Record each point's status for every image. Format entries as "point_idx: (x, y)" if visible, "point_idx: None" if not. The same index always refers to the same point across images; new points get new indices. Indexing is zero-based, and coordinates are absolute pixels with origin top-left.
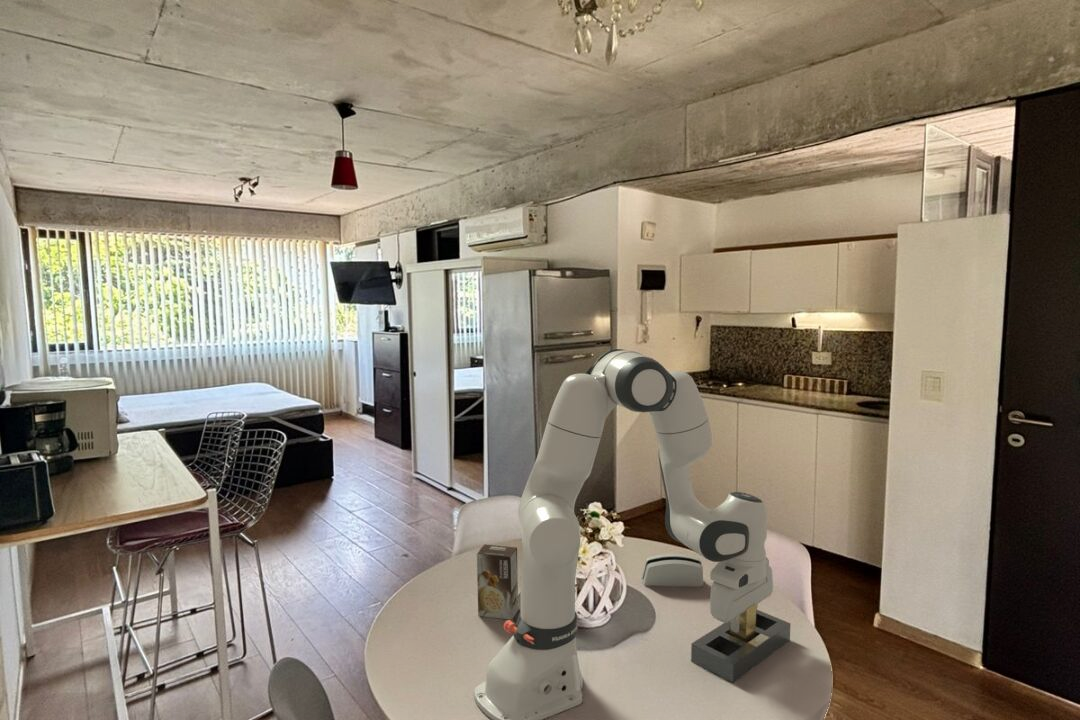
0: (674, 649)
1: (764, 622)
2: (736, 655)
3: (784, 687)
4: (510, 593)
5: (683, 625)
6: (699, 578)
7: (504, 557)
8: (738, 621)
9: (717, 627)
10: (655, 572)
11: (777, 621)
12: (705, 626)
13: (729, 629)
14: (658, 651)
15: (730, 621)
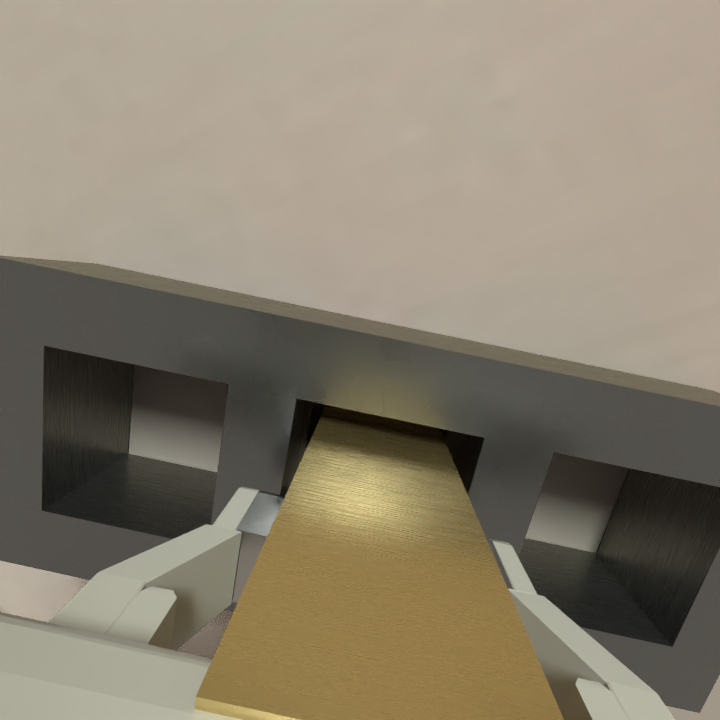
0: (129, 125)
1: (673, 534)
2: (88, 546)
3: (214, 654)
4: None
5: (432, 27)
6: None
7: None
8: (176, 642)
9: (331, 327)
10: None
11: (683, 645)
12: (508, 170)
13: (313, 437)
14: (40, 49)
15: (188, 538)
